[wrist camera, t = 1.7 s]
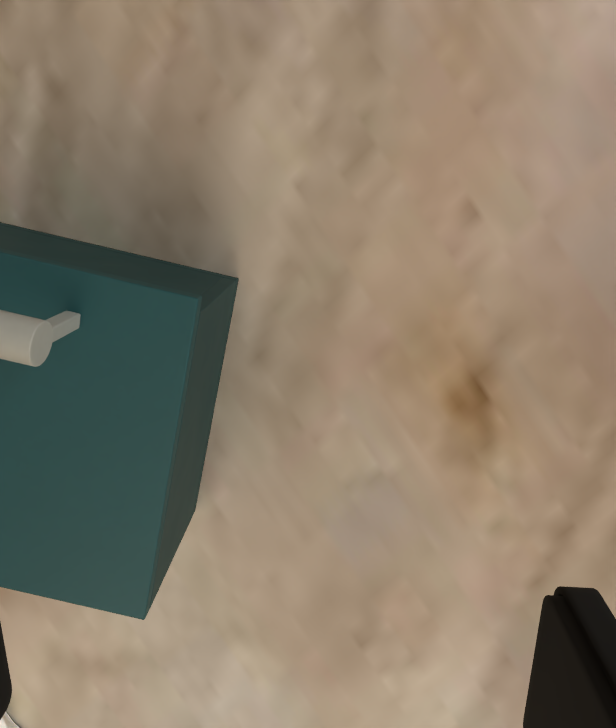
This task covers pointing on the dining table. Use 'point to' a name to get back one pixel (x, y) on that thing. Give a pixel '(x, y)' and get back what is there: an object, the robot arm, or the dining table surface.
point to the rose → (7, 722)
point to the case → (204, 361)
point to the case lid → (88, 428)
